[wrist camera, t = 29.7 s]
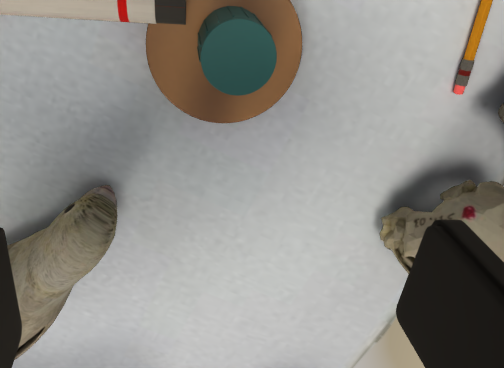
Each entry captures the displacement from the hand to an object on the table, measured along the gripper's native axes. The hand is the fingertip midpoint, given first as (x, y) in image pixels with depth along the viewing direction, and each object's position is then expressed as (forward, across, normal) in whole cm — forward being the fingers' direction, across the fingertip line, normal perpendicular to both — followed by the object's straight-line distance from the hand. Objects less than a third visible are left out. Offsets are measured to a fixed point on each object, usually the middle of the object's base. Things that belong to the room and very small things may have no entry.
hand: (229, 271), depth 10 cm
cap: (+18, -2, -1) cm, 19 cm away
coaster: (+19, -2, 0) cm, 19 cm away
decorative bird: (+19, +10, +15) cm, 26 cm away
